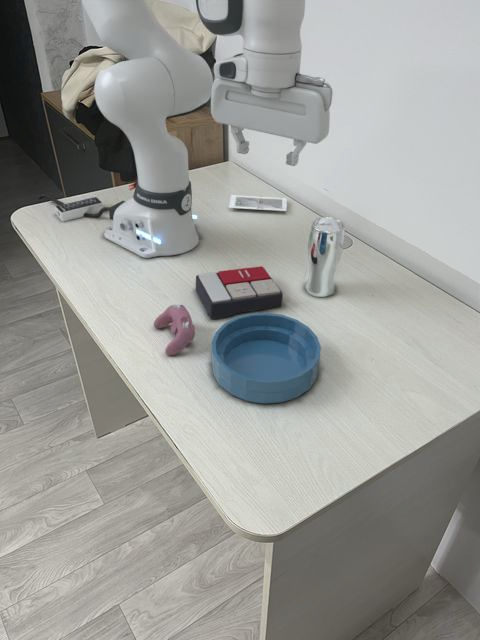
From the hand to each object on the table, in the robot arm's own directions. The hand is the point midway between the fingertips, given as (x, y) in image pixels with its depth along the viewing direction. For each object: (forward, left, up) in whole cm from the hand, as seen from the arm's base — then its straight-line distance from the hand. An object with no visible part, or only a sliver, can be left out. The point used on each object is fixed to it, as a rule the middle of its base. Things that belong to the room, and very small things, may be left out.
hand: (266, 158), depth 92 cm
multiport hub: (-57, +10, -29) cm, 65 cm away
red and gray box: (-4, -2, -29) cm, 30 cm away
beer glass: (+9, +10, -29) cm, 32 cm away
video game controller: (-7, -19, -29) cm, 36 cm away
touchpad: (-21, +38, -29) cm, 52 cm away
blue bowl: (+10, -18, -29) cm, 36 cm away
